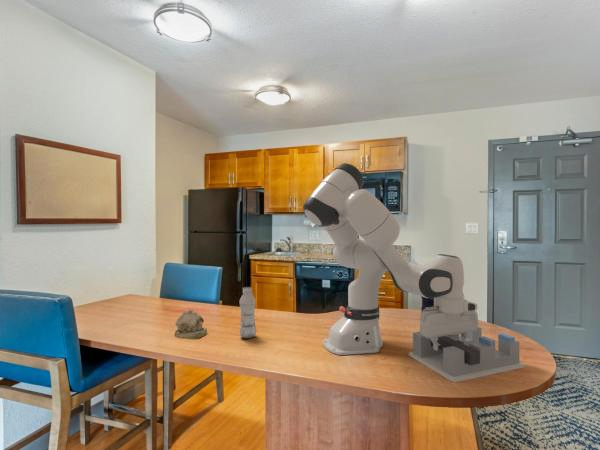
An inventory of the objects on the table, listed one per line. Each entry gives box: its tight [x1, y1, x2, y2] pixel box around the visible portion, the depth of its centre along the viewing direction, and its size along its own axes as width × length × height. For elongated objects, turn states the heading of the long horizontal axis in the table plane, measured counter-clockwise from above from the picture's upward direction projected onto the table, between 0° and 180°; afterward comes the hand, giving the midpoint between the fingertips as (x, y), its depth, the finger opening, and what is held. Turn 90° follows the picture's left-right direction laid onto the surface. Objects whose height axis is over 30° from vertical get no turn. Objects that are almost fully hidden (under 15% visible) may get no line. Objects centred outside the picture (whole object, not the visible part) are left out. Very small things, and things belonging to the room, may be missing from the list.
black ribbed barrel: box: [420, 296, 434, 312], centre depth 151 cm, size 10×10×15 cm
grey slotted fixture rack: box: [408, 325, 526, 384], centre depth 106 cm, size 28×20×10 cm
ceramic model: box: [174, 309, 208, 340], centre depth 136 cm, size 14×11×10 cm
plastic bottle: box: [239, 286, 257, 339], centre depth 131 cm, size 6×7×20 cm
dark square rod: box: [431, 336, 480, 365], centre depth 104 cm, size 4×20×4 cm, turn 19°
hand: (449, 347), depth 104 cm, fingers open, 8 cm apart
